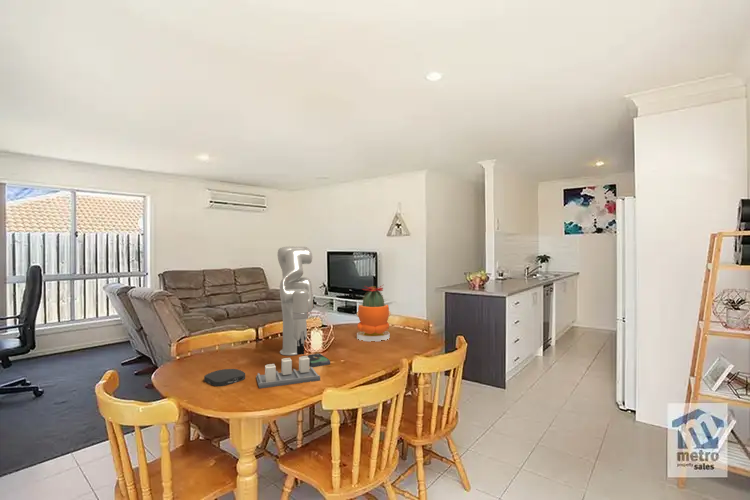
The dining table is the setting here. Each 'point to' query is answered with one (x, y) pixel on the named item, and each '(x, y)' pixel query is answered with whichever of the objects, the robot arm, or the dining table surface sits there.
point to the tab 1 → (270, 373)
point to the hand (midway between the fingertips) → (300, 353)
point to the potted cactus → (373, 316)
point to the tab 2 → (286, 366)
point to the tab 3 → (303, 364)
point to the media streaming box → (224, 377)
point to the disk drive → (317, 360)
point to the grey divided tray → (288, 378)
